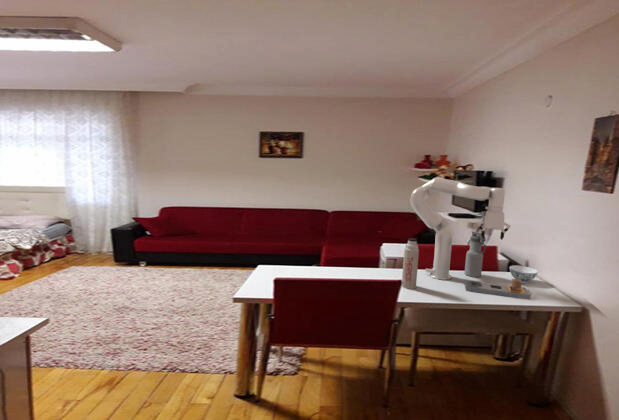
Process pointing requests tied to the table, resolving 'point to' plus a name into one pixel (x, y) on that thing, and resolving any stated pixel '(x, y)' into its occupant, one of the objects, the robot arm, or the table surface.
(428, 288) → the table surface
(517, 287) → the peg
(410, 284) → the thermos bottle
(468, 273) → the water bottle
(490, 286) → the gray peg board
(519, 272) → the chinaware
